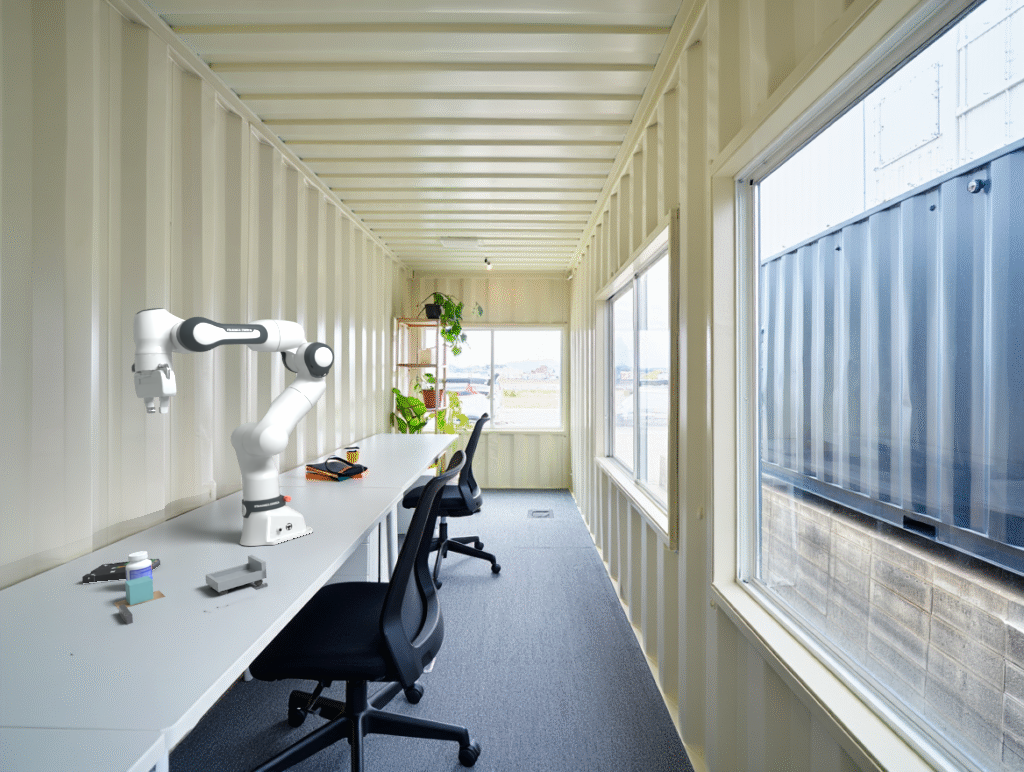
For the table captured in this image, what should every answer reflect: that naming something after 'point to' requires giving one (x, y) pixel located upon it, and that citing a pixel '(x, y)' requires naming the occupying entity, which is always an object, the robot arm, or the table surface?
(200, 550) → the table surface
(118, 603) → the pad
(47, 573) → the table surface
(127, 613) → the rails
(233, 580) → the grey sliding tray
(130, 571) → the pill bottle
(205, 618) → the table surface
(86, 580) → the disk drive
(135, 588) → the block
